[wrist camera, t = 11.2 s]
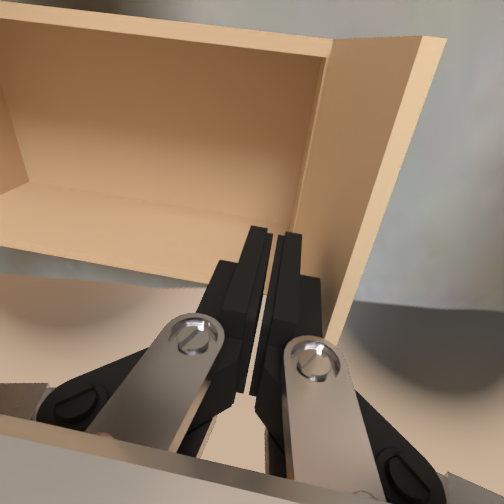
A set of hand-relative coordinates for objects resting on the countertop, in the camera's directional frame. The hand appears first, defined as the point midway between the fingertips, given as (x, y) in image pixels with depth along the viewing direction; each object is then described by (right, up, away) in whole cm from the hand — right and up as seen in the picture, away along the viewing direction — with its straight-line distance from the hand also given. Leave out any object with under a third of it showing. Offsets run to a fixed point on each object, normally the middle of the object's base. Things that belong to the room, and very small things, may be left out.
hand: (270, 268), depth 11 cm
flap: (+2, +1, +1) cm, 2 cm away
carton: (-8, +10, +14) cm, 19 cm away
